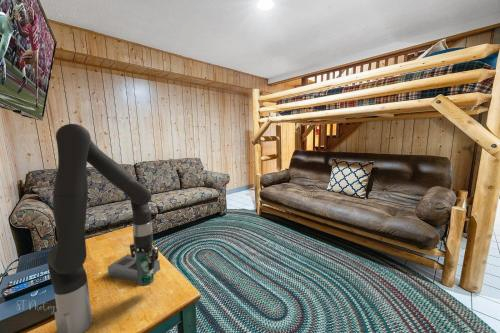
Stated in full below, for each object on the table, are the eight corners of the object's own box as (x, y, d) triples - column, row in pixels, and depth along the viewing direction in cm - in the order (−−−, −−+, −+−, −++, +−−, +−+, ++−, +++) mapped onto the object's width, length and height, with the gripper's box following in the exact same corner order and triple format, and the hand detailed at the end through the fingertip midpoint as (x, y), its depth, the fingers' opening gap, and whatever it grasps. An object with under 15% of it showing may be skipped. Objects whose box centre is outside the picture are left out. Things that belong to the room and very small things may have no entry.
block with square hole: (142, 283, 102) (141, 274, 101) (108, 275, 108) (107, 266, 107) (160, 269, 113) (159, 260, 112) (128, 262, 119) (127, 253, 119)
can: (147, 287, 91) (145, 254, 89) (135, 285, 92) (132, 252, 90) (156, 278, 97) (154, 247, 95) (144, 276, 98) (142, 246, 96)
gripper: (122, 233, 90) (125, 269, 92) (149, 238, 86) (151, 276, 88) (137, 226, 97) (139, 260, 99) (162, 230, 93) (164, 266, 95)
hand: (145, 267), depth 93 cm, fingers closed on can, 6 cm apart
